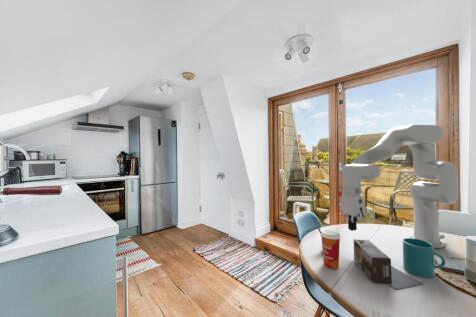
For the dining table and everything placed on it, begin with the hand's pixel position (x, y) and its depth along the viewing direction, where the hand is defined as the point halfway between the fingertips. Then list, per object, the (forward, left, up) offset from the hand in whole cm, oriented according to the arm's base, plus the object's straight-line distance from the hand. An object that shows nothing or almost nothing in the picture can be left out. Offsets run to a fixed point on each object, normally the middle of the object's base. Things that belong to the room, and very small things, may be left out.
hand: (352, 229), depth 92 cm
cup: (-14, +20, -11) cm, 27 cm away
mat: (0, +17, -11) cm, 20 cm away
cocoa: (+10, -4, -11) cm, 16 cm away
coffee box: (+2, +6, -6) cm, 9 cm away
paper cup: (+17, +7, -11) cm, 21 cm away
